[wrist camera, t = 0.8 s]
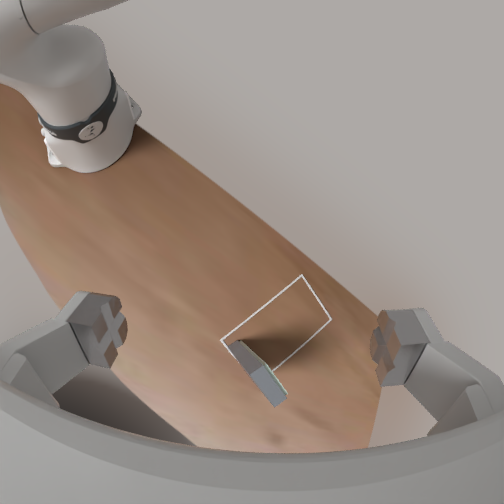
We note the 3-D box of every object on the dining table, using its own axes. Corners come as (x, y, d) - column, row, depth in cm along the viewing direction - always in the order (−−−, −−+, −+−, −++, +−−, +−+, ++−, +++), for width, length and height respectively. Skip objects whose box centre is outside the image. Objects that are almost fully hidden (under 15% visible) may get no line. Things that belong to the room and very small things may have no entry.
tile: (227, 346, 45) (249, 374, 32) (239, 338, 46) (266, 363, 33) (246, 373, 46) (274, 407, 33) (258, 365, 47) (290, 395, 33)
